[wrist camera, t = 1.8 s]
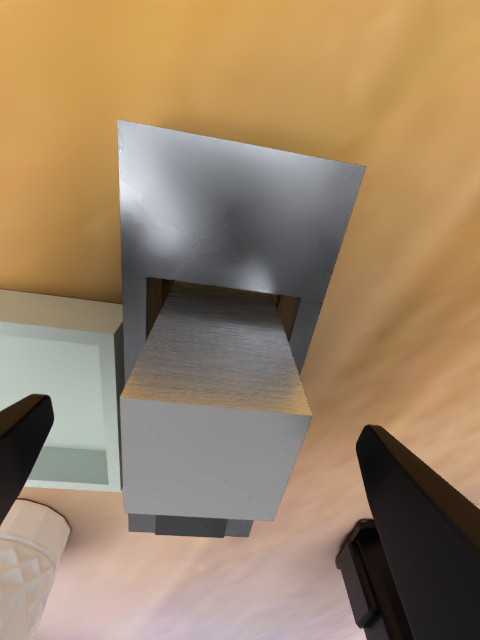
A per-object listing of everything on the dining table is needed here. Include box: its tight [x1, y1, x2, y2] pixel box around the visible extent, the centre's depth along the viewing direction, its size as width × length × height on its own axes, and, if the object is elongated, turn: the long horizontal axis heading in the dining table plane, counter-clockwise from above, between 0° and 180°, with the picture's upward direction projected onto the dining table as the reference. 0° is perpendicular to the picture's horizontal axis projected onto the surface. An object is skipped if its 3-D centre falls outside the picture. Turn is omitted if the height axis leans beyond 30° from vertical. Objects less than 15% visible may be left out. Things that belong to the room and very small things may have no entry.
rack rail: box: [118, 120, 366, 538], centre depth 14 cm, size 7×20×3 cm, turn 171°
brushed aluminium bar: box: [120, 280, 312, 521], centre depth 11 cm, size 4×4×8 cm
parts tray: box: [0, 289, 125, 492], centre depth 14 cm, size 10×10×3 cm
